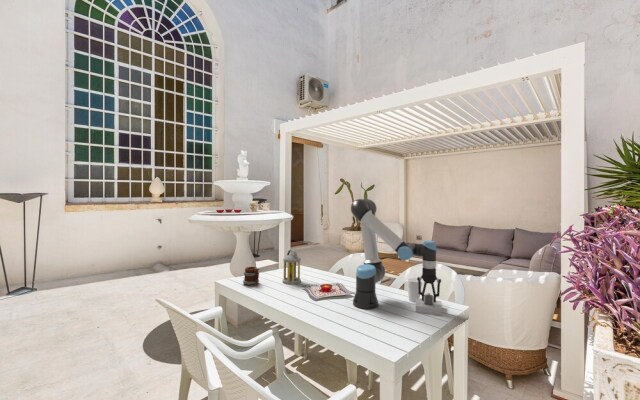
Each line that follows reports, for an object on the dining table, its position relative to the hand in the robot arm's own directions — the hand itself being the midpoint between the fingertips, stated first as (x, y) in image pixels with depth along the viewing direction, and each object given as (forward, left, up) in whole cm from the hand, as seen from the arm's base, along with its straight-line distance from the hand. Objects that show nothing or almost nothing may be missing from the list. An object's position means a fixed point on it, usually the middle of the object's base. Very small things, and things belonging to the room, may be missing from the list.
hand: (428, 307), depth 177 cm
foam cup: (-9, +13, -2) cm, 16 cm away
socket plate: (0, 0, -1) cm, 1 cm away
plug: (0, 0, 0) cm, 0 cm away
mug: (-123, +3, -2) cm, 123 cm away
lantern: (-99, +20, -2) cm, 101 cm away
